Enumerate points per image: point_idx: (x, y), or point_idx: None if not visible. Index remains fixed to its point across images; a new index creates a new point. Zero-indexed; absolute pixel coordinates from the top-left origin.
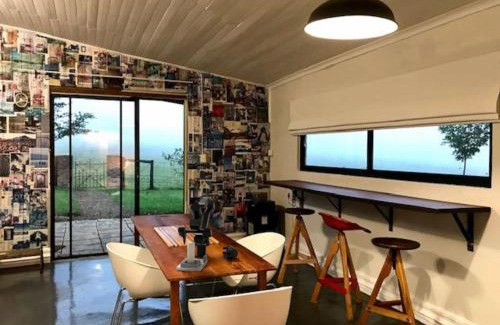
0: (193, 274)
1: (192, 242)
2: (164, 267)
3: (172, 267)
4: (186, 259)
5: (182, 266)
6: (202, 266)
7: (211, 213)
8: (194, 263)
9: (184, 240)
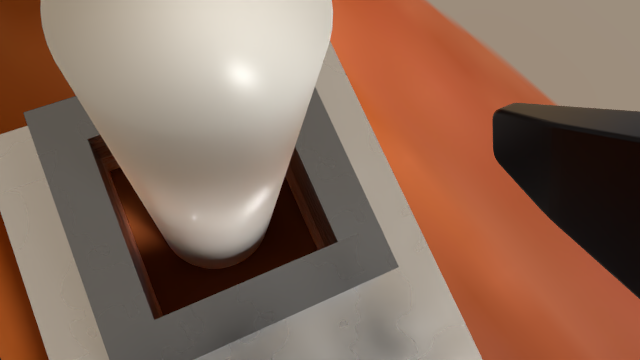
0: (14, 3)
1: (150, 27)
2: (515, 75)
3: (440, 121)
4: (364, 269)
5: None
6: (25, 280)
7: None
8: (93, 133)
9: (593, 126)
